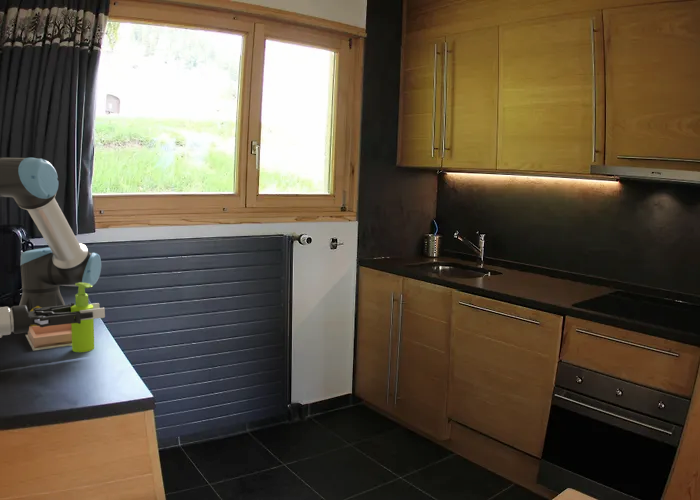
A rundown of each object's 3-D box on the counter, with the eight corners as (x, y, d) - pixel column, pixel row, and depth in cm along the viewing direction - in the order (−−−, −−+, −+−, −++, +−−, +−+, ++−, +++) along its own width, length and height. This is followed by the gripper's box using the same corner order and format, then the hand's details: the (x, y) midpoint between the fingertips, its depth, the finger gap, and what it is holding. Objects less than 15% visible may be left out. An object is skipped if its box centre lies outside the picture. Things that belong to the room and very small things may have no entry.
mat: (25, 336, 192) (25, 335, 192) (77, 330, 201) (77, 328, 201) (33, 352, 178) (33, 350, 178) (89, 344, 186) (89, 342, 186)
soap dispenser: (82, 356, 175) (80, 286, 172) (67, 351, 179) (65, 283, 175) (101, 350, 180) (99, 283, 177) (86, 345, 184) (84, 279, 180)
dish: (28, 336, 191) (27, 326, 190) (77, 330, 199) (76, 320, 198) (34, 348, 179) (33, 338, 179) (86, 341, 187) (85, 331, 187)
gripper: (8, 325, 176) (95, 315, 189) (16, 342, 161) (110, 330, 173) (7, 299, 175) (94, 291, 188) (14, 314, 160) (109, 304, 172)
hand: (101, 310), depth 181 cm, fingers closed on soap dispenser, 6 cm apart
